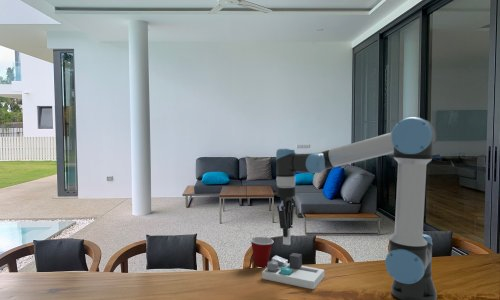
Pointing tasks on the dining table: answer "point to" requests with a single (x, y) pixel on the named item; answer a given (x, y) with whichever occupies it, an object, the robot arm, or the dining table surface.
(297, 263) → the slider knob
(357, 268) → the dining table surface
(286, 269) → the teal button
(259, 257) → the plastic cup
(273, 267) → the grey button
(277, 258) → the white block with nub
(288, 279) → the panel
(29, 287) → the dining table surface
